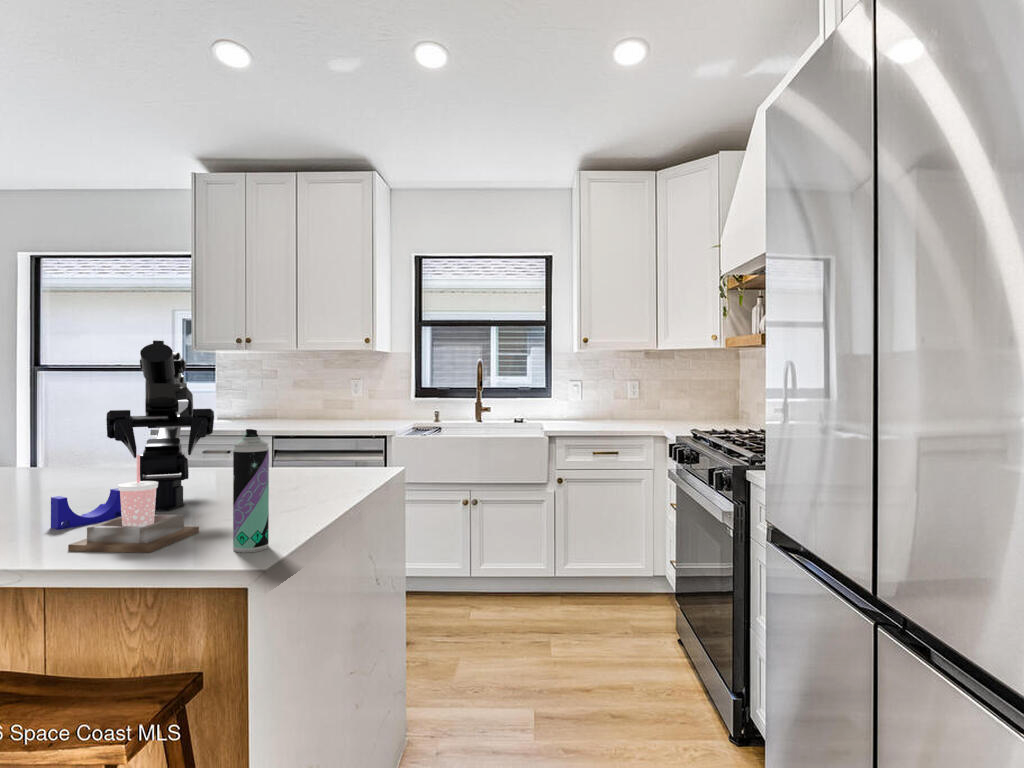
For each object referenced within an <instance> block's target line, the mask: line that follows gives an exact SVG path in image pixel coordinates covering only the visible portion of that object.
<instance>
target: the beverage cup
mask: <svg viewBox="0 0 1024 768" xmlns="http://www.w3.org/2000/svg"><path fill="white" fill-rule="evenodd" d="M157 487H158V482H156V481H140V454H136V480H135V481H127V482H124V483H123V482H122V483H118V484H117V488H118V490H119V491H120V500H121V514H122V526H138V527H145V526H148V525H150V524H153V523H154V516H155V513H156V512H155V511H156V510H155V501H156V488H157Z"/></svg>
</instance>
